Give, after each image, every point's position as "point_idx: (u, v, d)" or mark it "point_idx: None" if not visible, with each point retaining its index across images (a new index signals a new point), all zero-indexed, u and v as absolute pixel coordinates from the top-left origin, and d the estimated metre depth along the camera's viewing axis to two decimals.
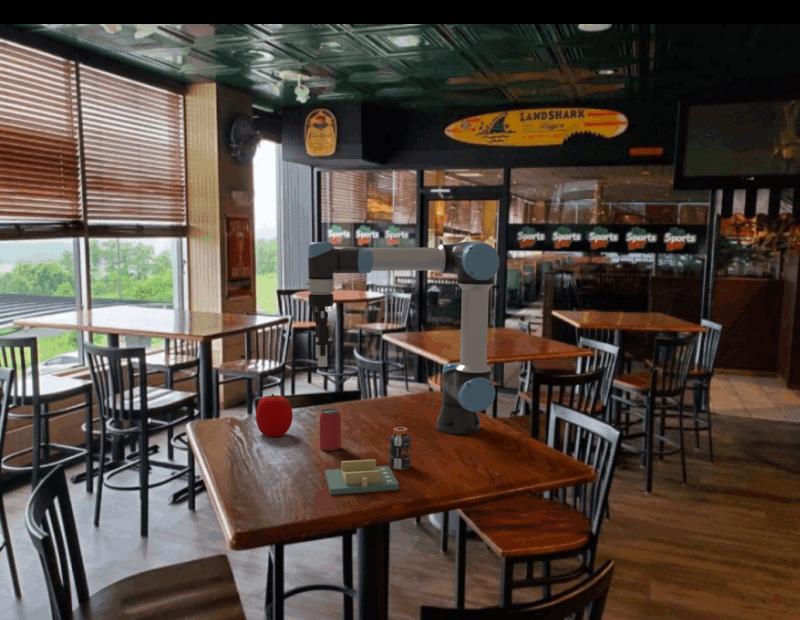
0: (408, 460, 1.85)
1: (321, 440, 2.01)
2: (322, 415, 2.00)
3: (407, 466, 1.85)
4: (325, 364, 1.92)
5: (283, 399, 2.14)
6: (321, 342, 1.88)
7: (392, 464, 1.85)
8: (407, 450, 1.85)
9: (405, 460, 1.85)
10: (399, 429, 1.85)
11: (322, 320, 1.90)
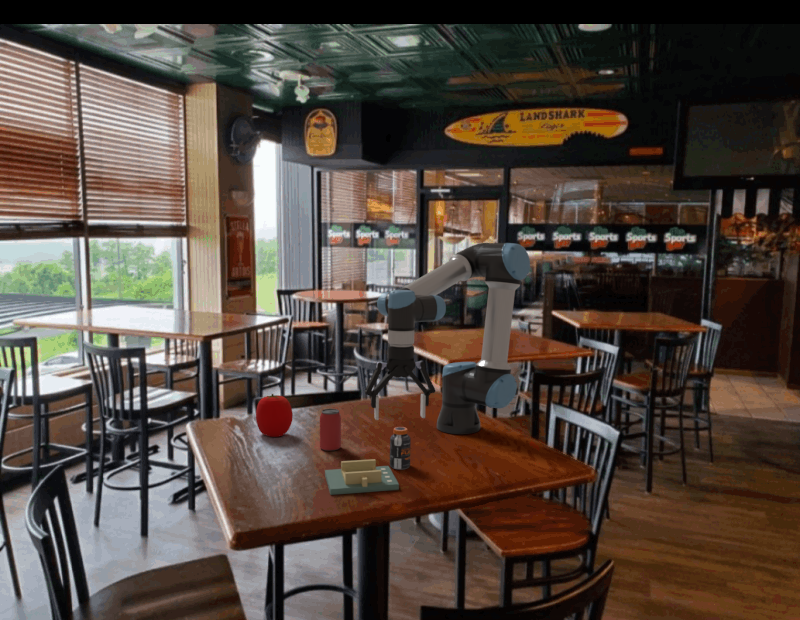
0: (408, 460, 1.85)
1: (321, 440, 2.01)
2: (322, 415, 2.00)
3: (407, 466, 1.85)
4: (375, 417, 1.83)
5: (283, 399, 2.14)
6: (365, 392, 1.83)
7: (392, 464, 1.85)
8: (407, 450, 1.85)
9: (405, 460, 1.85)
10: (399, 429, 1.85)
11: (375, 371, 1.83)
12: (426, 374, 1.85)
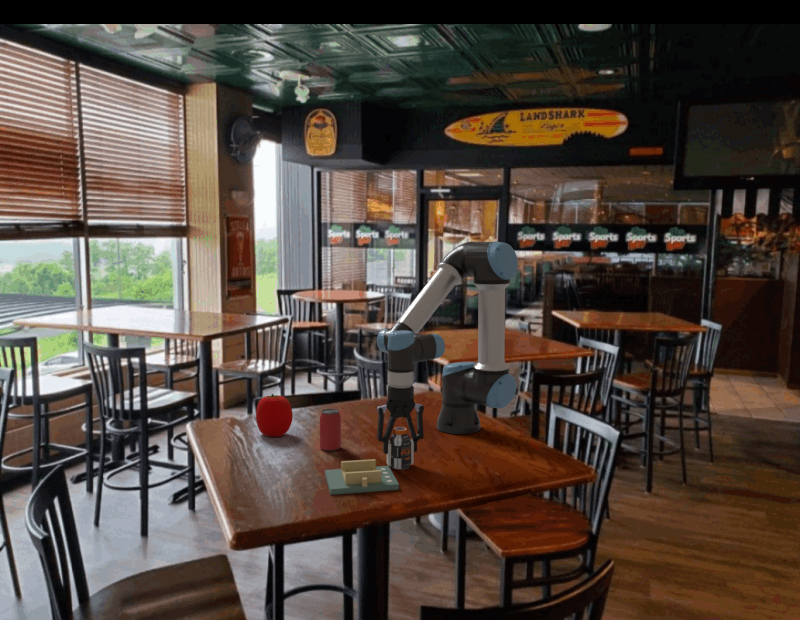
0: (408, 460, 1.85)
1: (321, 440, 2.01)
2: (322, 415, 2.00)
3: (407, 466, 1.85)
4: (388, 463, 1.86)
5: (283, 399, 2.14)
6: (377, 438, 1.85)
7: (392, 464, 1.85)
8: (407, 449, 1.85)
9: (405, 460, 1.85)
10: (399, 429, 1.85)
11: (378, 416, 1.84)
12: (421, 419, 1.86)
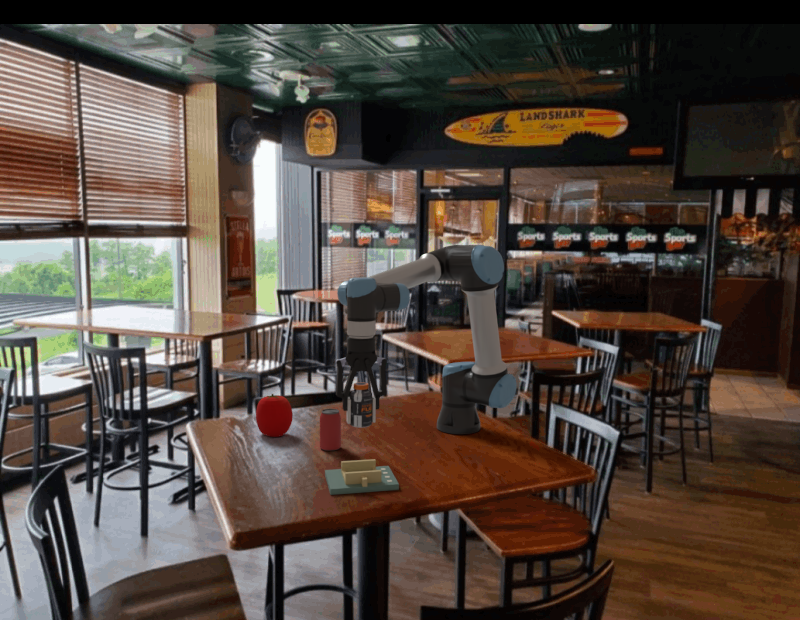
0: (369, 417, 1.71)
1: (321, 440, 2.01)
2: (322, 415, 2.00)
3: (368, 424, 1.71)
4: (347, 421, 1.71)
5: (283, 399, 2.14)
6: (336, 394, 1.71)
7: (352, 422, 1.71)
8: (368, 406, 1.70)
9: (366, 418, 1.70)
10: (359, 384, 1.71)
11: (337, 370, 1.70)
12: (383, 373, 1.72)
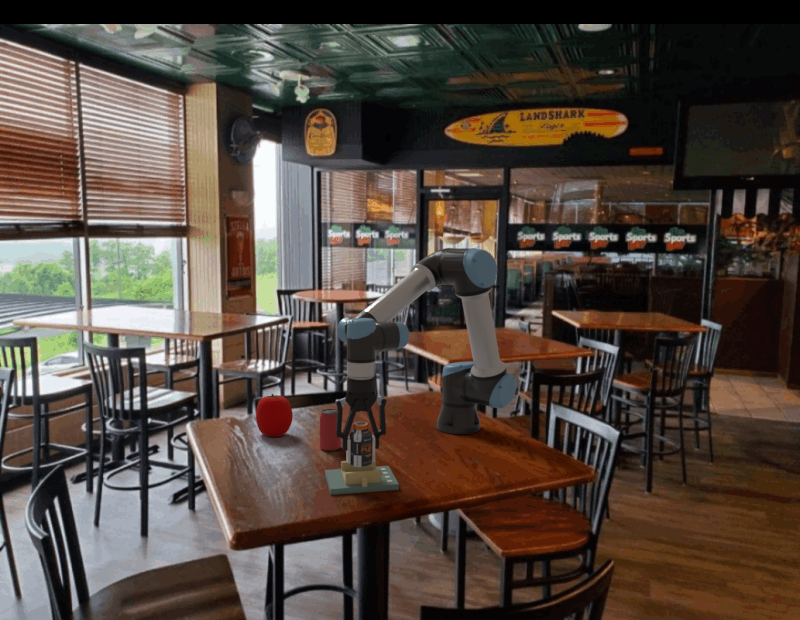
0: (369, 457, 1.72)
1: (321, 440, 2.01)
2: (322, 415, 2.00)
3: (368, 464, 1.72)
4: (347, 460, 1.73)
5: (283, 399, 2.14)
6: (336, 434, 1.72)
7: (352, 462, 1.72)
8: (368, 446, 1.72)
9: (366, 458, 1.72)
10: (359, 424, 1.72)
11: (337, 410, 1.71)
12: (383, 413, 1.73)
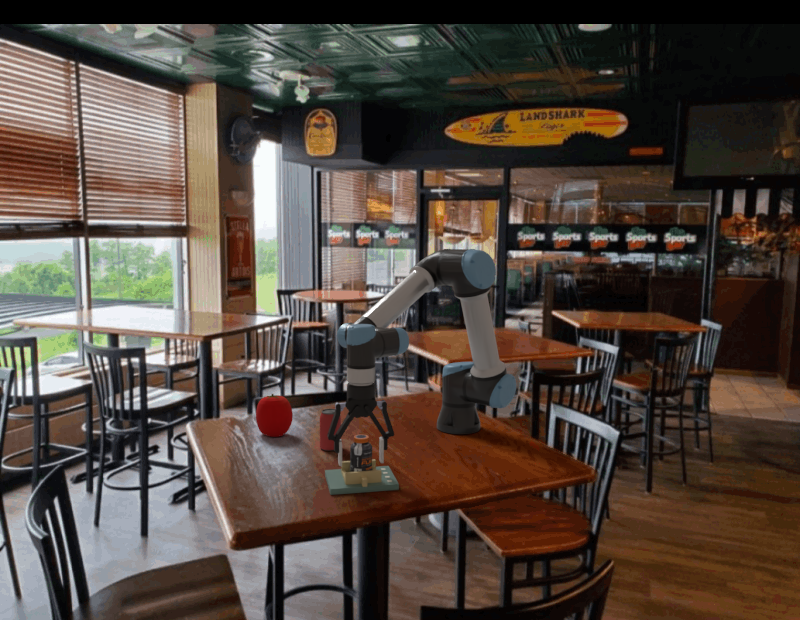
0: (369, 470, 1.73)
1: (321, 440, 2.01)
2: (322, 415, 2.00)
3: None
4: (339, 463, 1.72)
5: (283, 399, 2.14)
6: (327, 436, 1.72)
7: None
8: (368, 459, 1.72)
9: None
10: (360, 437, 1.72)
11: (334, 413, 1.71)
12: (387, 416, 1.73)
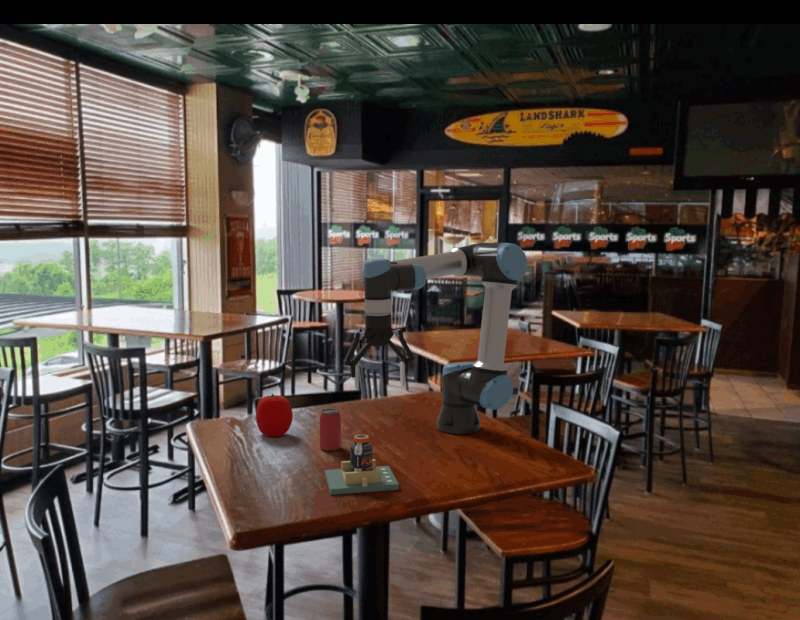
0: (369, 470, 1.73)
1: (321, 440, 2.01)
2: (322, 415, 2.00)
3: None
4: (355, 387, 1.84)
5: (283, 399, 2.14)
6: (344, 362, 1.84)
7: None
8: (368, 459, 1.72)
9: None
10: (360, 437, 1.73)
11: (353, 341, 1.83)
12: (404, 342, 1.86)
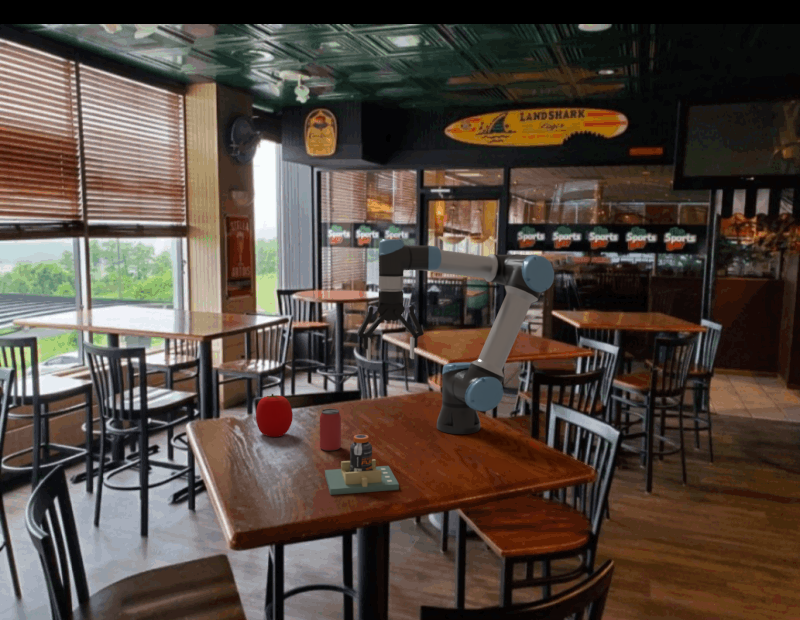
0: (369, 470, 1.73)
1: (321, 440, 2.01)
2: (322, 415, 2.00)
3: None
4: (367, 358, 1.96)
5: (283, 399, 2.14)
6: (357, 334, 1.96)
7: None
8: (368, 459, 1.72)
9: None
10: (359, 437, 1.73)
11: (367, 314, 1.96)
12: (415, 318, 1.98)
